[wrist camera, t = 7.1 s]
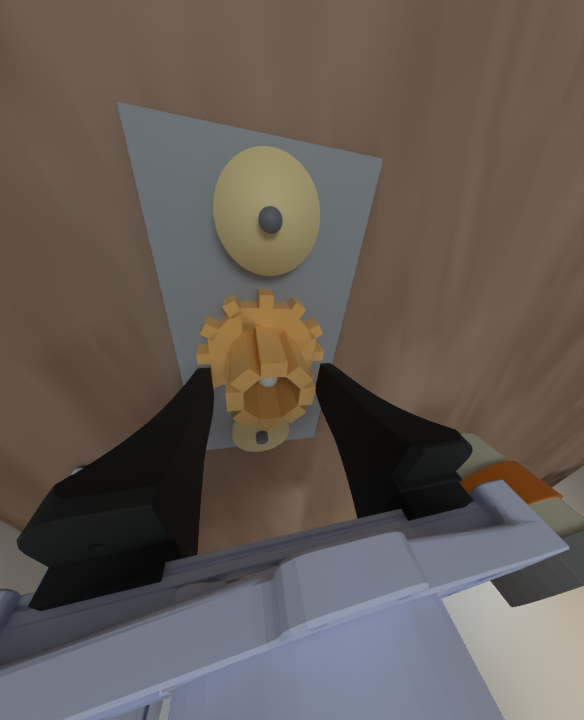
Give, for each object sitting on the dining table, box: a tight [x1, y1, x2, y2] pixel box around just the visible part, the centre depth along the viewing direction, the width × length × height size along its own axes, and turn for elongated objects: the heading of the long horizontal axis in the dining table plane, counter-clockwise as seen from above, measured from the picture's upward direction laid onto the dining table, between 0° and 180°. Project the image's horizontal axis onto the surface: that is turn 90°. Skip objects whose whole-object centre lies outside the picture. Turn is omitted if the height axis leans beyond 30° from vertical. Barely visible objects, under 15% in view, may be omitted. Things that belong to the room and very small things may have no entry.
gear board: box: [117, 102, 383, 452], centre depth 14 cm, size 21×11×5 cm, turn 174°
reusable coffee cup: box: [456, 433, 584, 607], centre depth 27 cm, size 13×13×15 cm
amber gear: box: [196, 289, 324, 429], centre depth 13 cm, size 8×8×5 cm
